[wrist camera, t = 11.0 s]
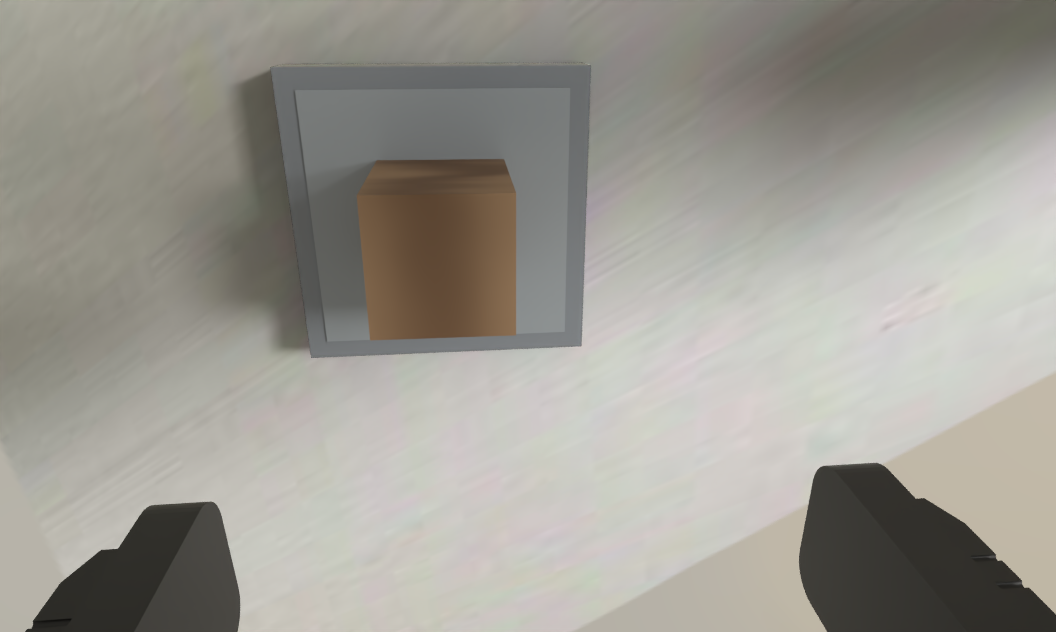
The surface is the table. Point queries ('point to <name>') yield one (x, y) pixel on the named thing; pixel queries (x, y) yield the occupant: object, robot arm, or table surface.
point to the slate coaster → (436, 134)
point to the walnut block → (439, 248)
